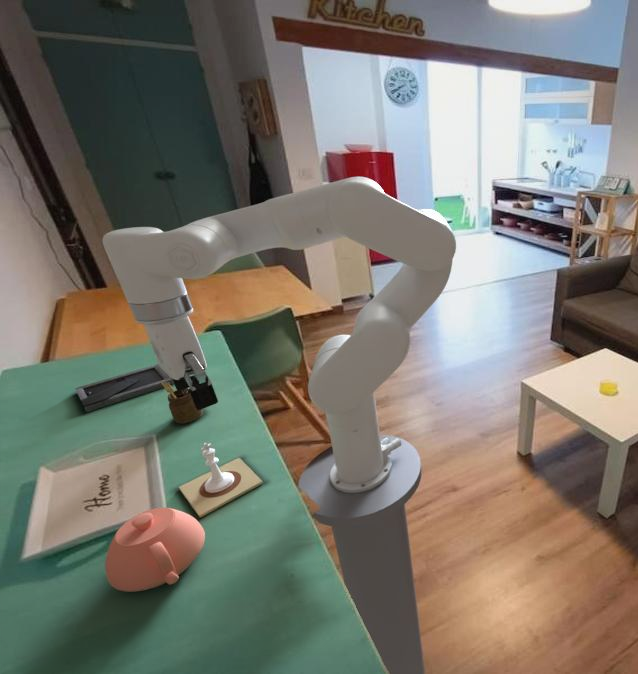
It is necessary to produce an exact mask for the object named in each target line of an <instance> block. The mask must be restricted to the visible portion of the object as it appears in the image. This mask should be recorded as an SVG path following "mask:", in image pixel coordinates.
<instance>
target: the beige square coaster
mask: <svg viewBox="0 0 638 674" xmlns="http://www.w3.org/2000/svg"><path fill="white" fill-rule="evenodd" d="M218 468H219V470H220V471H221V473H223V472H228V473H231V474H232V475H233V476H234V482H233V483H232V484H231V485H230V486H229V487H228V488H226V489H224V490H222V491H220V492H215V493H209V492H207V491H206V490H205V483H206V481H207V480H208V479H209V478H211V477H212V474H211V470H210V471H208V472H206V473H204V474H201V475H200V476H198V477H196V478H194V479H192V480H190V481H188V482H185V483H183V484H182V485H179V486H178V490H179V491H180V492H181V494H182V495H183V497H184V498H185V499H186V501H187V502H188V503H189V505H190V506H191V508H192V509H193V510H194V512H195V513H196V515H197V516H198V517H199V519H200V518H203V517H205V516H206V515H208V514H210V513H211V512H213V511H215V510H217V509H218V508H220V507H222V506H225V505H226V504H228V503H230V502H231V501H233V500H236V499H237V498H239V497H240V496H242V495H244V494H246V493H248V492H250V491H252V490H253V489H255V488H257V487H259V486H261V485H263V483H264V482H263V480H262V479H261V478H260V477H259V476H258V475H257V474H256V473H255V472H254V471H253V470H252V468H250V467H249V466H248V465H247V464H246V463H245V461H243V460H242V459H241V458H240V457H237V458H235V459H233V460H231V461H229V462H227V463H225V464H223V465H221V466H218Z"/></svg>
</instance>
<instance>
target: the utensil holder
mask: <svg viewBox="0 0 638 674" xmlns="http://www.w3.org/2000/svg"><path fill="white" fill-rule="evenodd" d="M161 384H162V385H163V388H164V390H165V391H166V392H167V393H169V394H168V395H167V401H168V408H169V411H170V413H171V416H172V418H173V421H174V422H175V423H177V424H182V425H183V424H184V425H185V424H189V423H192V422H195V421H197V420H198V419H200V418H201V417H202V416H203V415H204V409H201V410H197V409H196V408H195V405H194V403H193V400H192V398H191V395H190V393H189V390H190V387H189V388H186V389H184V390H181V391H178V390H177V389H176V390H175V389H174V388H173V386H172V385H170V384H169V383H168V382H167V384H168V385H167V384H166V383H165V382H164V384H165V385H166V386H165V385H164V384H163V383H161Z"/></svg>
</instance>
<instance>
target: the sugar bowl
mask: <svg viewBox="0 0 638 674" xmlns="http://www.w3.org/2000/svg"><path fill="white" fill-rule="evenodd" d="M205 541H206V532H205V530H204V528H203V526H202V525H201V523H200V522H199V521H198V520H197V519H196V518H195V517H193V516H192V515H190V514H189V513H187V512H184V511H182V510H179V509H175V508H171V507H156V508H151V509H148V510H145V511H142V512H140V513H138V514H136V515H135V516H133V517H131V518H130V519H128V520H127V521H126V522H125V523H123V524H122V525H121V526H120V528H118V529H117V530H116V532H115V534H114V536H113V538H112V539H111V542H110V543H109V547H108V549H107V553H106V556H105V563H104V569H105V575H106V579H107V581H108V583H109V585H110V586H111V587H113V588H114V589H116V590H118V591H121V592H130V593H131V592H143V591H148V590H151V589H154V588H157V587H160V586H163V585H164V584H168V585H173V584H175V583H177V582H178V580H179V578H180V576H179V575H181V574H182V573H184V571H186V570H187V569H188V568H189V567H190V566H191V565H192V564H193V562H194V561H195V560H196V559H197V557H198V556H199V554H200V553H201V551H202V549H203V547H204V545H205Z"/></svg>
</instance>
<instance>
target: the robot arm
mask: <svg viewBox="0 0 638 674" xmlns="http://www.w3.org/2000/svg"><path fill="white" fill-rule="evenodd" d="M343 238H347V239H349V240H351V241H353V242H355V243H356V244H359V245H361V246H364V247H366V248H367V249H370V250H372V251H374V252H377V253H378V254H381V255H383V256H385V257H387V258H389V259H392V260H395V261H397V262H400V263H401V264H402V265H401V266H400V269H399V270H398V271H397V272H396V273H395V275H394V276H393V277H391V279H390V280H389V281H388V283H386V284H385V286H384V287H383V288H381V290H380V291H378V292H377V294H376V295H374V297H373V298H372V299H371V300H369V301H368V303H366V304H365V305H364V306H363V307H362V308H361V309H359V311H358V313H357V315H356V317H355V320H354V324H353V330H352V333H351V334H338V335H333V336H332V337H330V338H329V339H327V340H326V341H325V342H324V343H323V344H322V345H321V346H320V348H319V350H318V352H317V354H316V356H315V359H314V362H313V364H312V365H313V366H312V369H311V372H310V375H309V379H308V385H307V391H308V392H307V393H308V396H309V399H310V401H311V403H312V404H313V405H314V407H316V409H318V410H319V411H322V412H324V413H325V420H326V425H327V429H328V434H329V439H330V443H331V446H332V449H333V454H334V459H335V464H334V465H333V467H332V469H331V471H330V480H331V483H332V485H333V486H334V487H335V488H336V489H338V490H340V491H342V492H347V493H358V492H364V491H367V490H370V489H372V488H374V487H376V486H378V485H380V484H381V483H382V482H383V481H384V480H385V479H386V478H387V477H388V476H389V474H390V472H391V469H392V463H391V459H390V457H389V455H390V454H391V451H392V450H395V449H397V448H398V447H400V446H401V445H402V444H401V441H400V440H399V439H398V438H399V437H398V438H397V439H395V440H394V441H392V442H390V441H389V439H388V438H385V439H383V440H382V441H381V438H380V435H381V432H380V426H379V417H378V411H377V410H378V409H377V401H376V395H375V394H376V393H375V392H376V391H377V390H378V388H380V387H381V386H382V385H383V384H384V383H385V382H386V381H387V380H388V379H389V378H390V377H391V376H392V375H393V374H394V373H395V372H396V371H397V370H398V368H399V367H400V366H401V365H402V364H403V362H405V359H406V357H407V356H408V353H409V351H410V347H411V333H410V332H411V330H412V328H413V327H414V326H415V324H416V323H417V322H418V321H419V320H420V319H421V318H422V317H423V316H424V315H425V314H426V312H427V311H428V310H429V309H430V308H431V307H432V306H433V305H434V303H436V301H438V299H439V297H440V296H441V294H442V293H443V292H444V289H445V288H446V286H447V285H448V281H449V279H450V275H451V273H452V267H453V259H454V257H455V255H456V252H457V251H456V250H457V241H456V237H455V234H454V231H453V230H452V229H451V226H450V225H449V224H448V222H447V221H446V219H445V218H444V217H443V216H442V215H441V214H440V213H439V212H437V211H435V210H433V209H428V208H420V209H415V208H413V207H412V206H410V205H408V204H405V203H403V202H401V201H400V200H397V199H396V198H394V197H392V196H390V195H389V194H388V193H385V192H384V189H383V188H382V187H381V186H380V185H379V184H378V183H377V182H376V181H374V180H373V179H371V178H369V177H365V176H351V177H347V178H343V179H340V180H335V181H332V182H328V183H325V184H321V185H318V186H314V187H310V188H306V189H303V190H299V191H295V192H292V193H288V194H283V195H280V196H276V197H273V198H269V199H267V200H265V201H263V202H260V203H257V204H253V205H249V206H245V207H241V208H237V209H234V210H230V211H227V212H223V213H219V214H215V215H211V216H207V217H204V218H201V219H197V220H195V221H192V222H189V223H188V224H185V225H182V226H181V227H178V228H174V229H171V230H167V231H163V230H161V229H160V228H158V227H153V226H138V227H137V226H135V227H134V226H133V227H126V228H125V227H124V228H120V229H115V230H111V231H109V232H107V233H105V234H104V235H103V236H102V244H103V248H104V251H105V253H106V255H107V257H108V260H109V262H110V265H111V268H112V269H113V272H114V274H115V276H116V279H117V281H118V283H119V286H120V288H121V290H122V292H123V295H124V297H125V299H126V302H127V304H128V307H129V309H130V311H131V313H132V316H133V318H134V321H135V322H136V323H137V324H139V325H143V327H144V330H145V333H146V336H147V338H148V341H149V344H150V346H151V349H152V353H153V355H154V358H155V360H156V362H157V363H156V364H158V365H159V366H160V367H161V368H162V369H163V370H164V371H165V372H166V373H167V374H168V375H169V376H170V378H171V379H172V381H173V383H174V384H173V386H174V387H175V389H176V390H178V391H181V390H184V389H186V388H190V390H189V393H190V395H191V398H192V400H193V403H194V405H195V408H196V409H197V410H201V409H203V410H204V409H206V408H208V407H211V406H213V405H217V404H218V402H219V400H218V397H217V394H216V392H215V388H214V386H213V384H212V381H211V379H210V378H209V376H208V374H207V372H206V370H207V367H208V365H207V361H206V357H205V354H204V352H203V348H202V347H201V344H200V341H199V339H198V336H197V334H196V331H195V329H194V325H193V324H192V322H191V319H190V317H189V315H191V314H193V312H194V308H193V304H192V302H191V299H190V297H189V296H190V295H189V294H188V293H189V292H188V290H187V288H186V285H185V282H184V279H187V280H194V279H195V280H196V279H197V280H198V279H203V278H207V277H209V276H210V275H212V274H214V273H215V272H216V271H218V270H219V269H221V268H222V267H223V266H224V265H226V263H228V262H229V261H232V260H234V259H237V258H240V257H244V256H247V255H251V254H255V253H258V252H262V251H266V250H270V249H277V248H278V249H279V248H284V249H288V250H292V251H302V250H306V249H309V248H313V247H315V246H318V245H322V244H325V243H328V242H329V243H330V242H332V241H335V240H339V239H343ZM389 442H390V443H389ZM388 443H389V444H388ZM386 444H388V445H386Z"/></svg>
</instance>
